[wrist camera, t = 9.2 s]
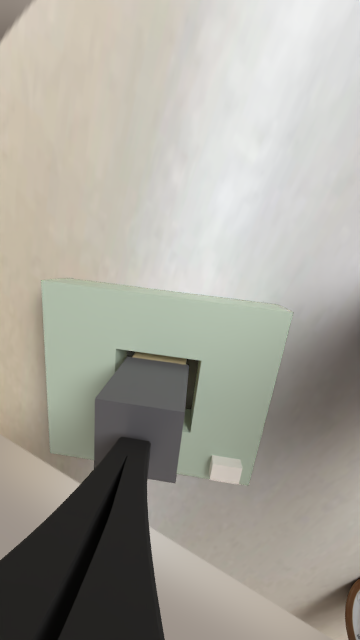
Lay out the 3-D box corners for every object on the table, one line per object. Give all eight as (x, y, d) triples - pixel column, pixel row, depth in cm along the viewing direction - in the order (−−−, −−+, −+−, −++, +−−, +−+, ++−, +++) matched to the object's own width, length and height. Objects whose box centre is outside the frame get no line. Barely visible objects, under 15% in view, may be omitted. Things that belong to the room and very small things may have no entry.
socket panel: (277, 304, 15) (299, 315, 11) (241, 455, 18) (250, 495, 15) (65, 278, 15) (32, 281, 12) (69, 428, 19) (43, 461, 15)
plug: (190, 349, 16) (184, 412, 9) (184, 396, 17) (175, 483, 10) (138, 342, 16) (94, 398, 9) (134, 389, 17) (94, 469, 10)
